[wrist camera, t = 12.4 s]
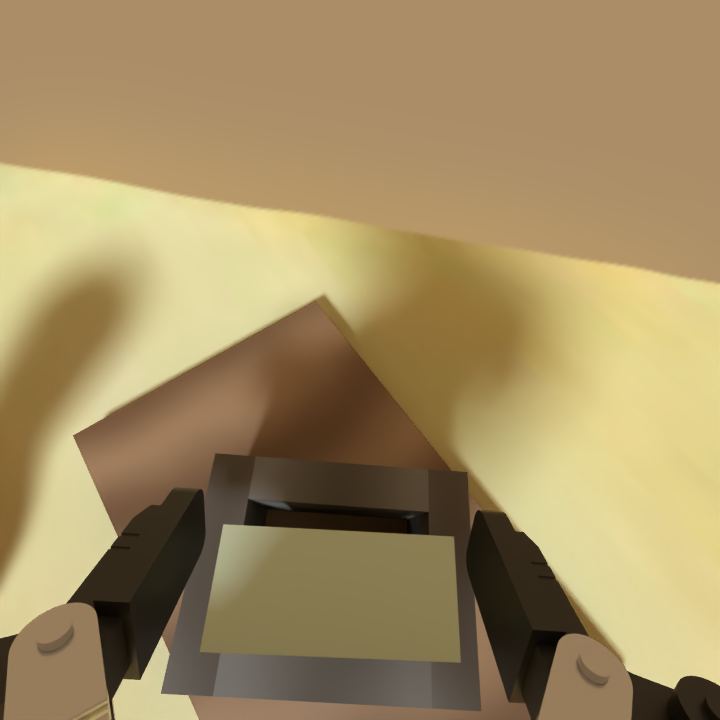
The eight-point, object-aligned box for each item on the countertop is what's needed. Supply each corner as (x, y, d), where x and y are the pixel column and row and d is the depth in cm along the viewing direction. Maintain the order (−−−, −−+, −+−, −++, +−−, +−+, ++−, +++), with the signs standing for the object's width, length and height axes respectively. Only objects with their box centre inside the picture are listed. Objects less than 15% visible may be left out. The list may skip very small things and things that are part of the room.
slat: (279, 588, 16) (199, 652, 7) (285, 536, 17) (223, 523, 7) (384, 592, 17) (460, 662, 7) (384, 541, 17) (453, 536, 8)
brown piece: (367, 1046, 12) (394, 1433, 7) (90, 443, 20) (0, 404, 15) (624, 704, 17) (764, 779, 11) (316, 314, 24) (311, 248, 19)
